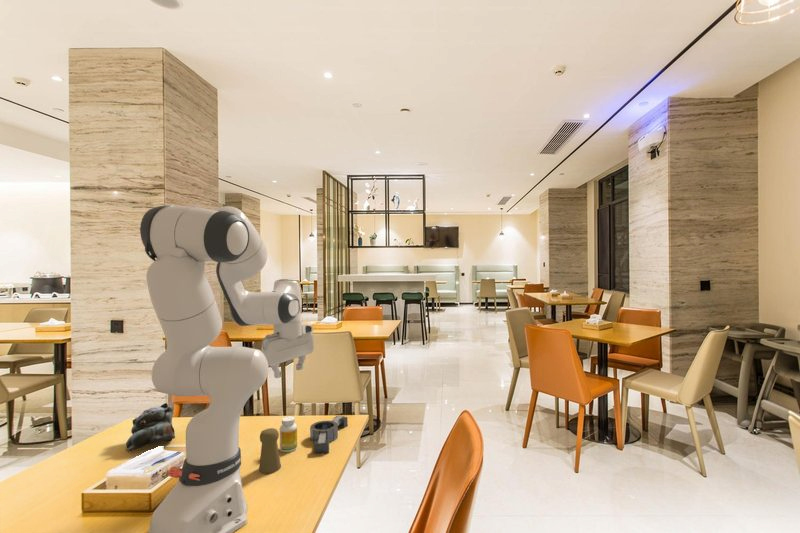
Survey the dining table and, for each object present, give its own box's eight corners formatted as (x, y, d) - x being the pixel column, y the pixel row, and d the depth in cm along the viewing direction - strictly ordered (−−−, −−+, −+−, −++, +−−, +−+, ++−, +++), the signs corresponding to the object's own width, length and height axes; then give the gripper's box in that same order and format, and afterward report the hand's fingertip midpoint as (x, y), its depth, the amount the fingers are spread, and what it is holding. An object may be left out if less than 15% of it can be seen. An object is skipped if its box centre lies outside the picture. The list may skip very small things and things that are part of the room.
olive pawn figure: (274, 474, 108) (273, 434, 108) (254, 472, 109) (253, 433, 110) (284, 464, 114) (284, 426, 114) (266, 462, 115) (265, 425, 116)
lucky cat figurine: (115, 455, 122) (117, 409, 128) (143, 453, 133) (144, 412, 139) (159, 440, 122) (159, 396, 128) (184, 440, 133) (183, 399, 139)
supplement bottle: (277, 448, 124) (276, 418, 125) (293, 443, 128) (292, 414, 128) (284, 454, 120) (283, 423, 120) (300, 449, 124) (299, 418, 124)
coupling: (324, 456, 118) (324, 442, 119) (292, 449, 123) (291, 437, 123) (361, 427, 140) (360, 416, 140) (331, 423, 144) (331, 412, 144)
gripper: (270, 336, 113) (271, 384, 113) (316, 325, 131) (317, 366, 131) (255, 335, 116) (256, 381, 116) (302, 324, 134) (303, 364, 134)
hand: (289, 373), depth 124 cm, fingers open, 8 cm apart
